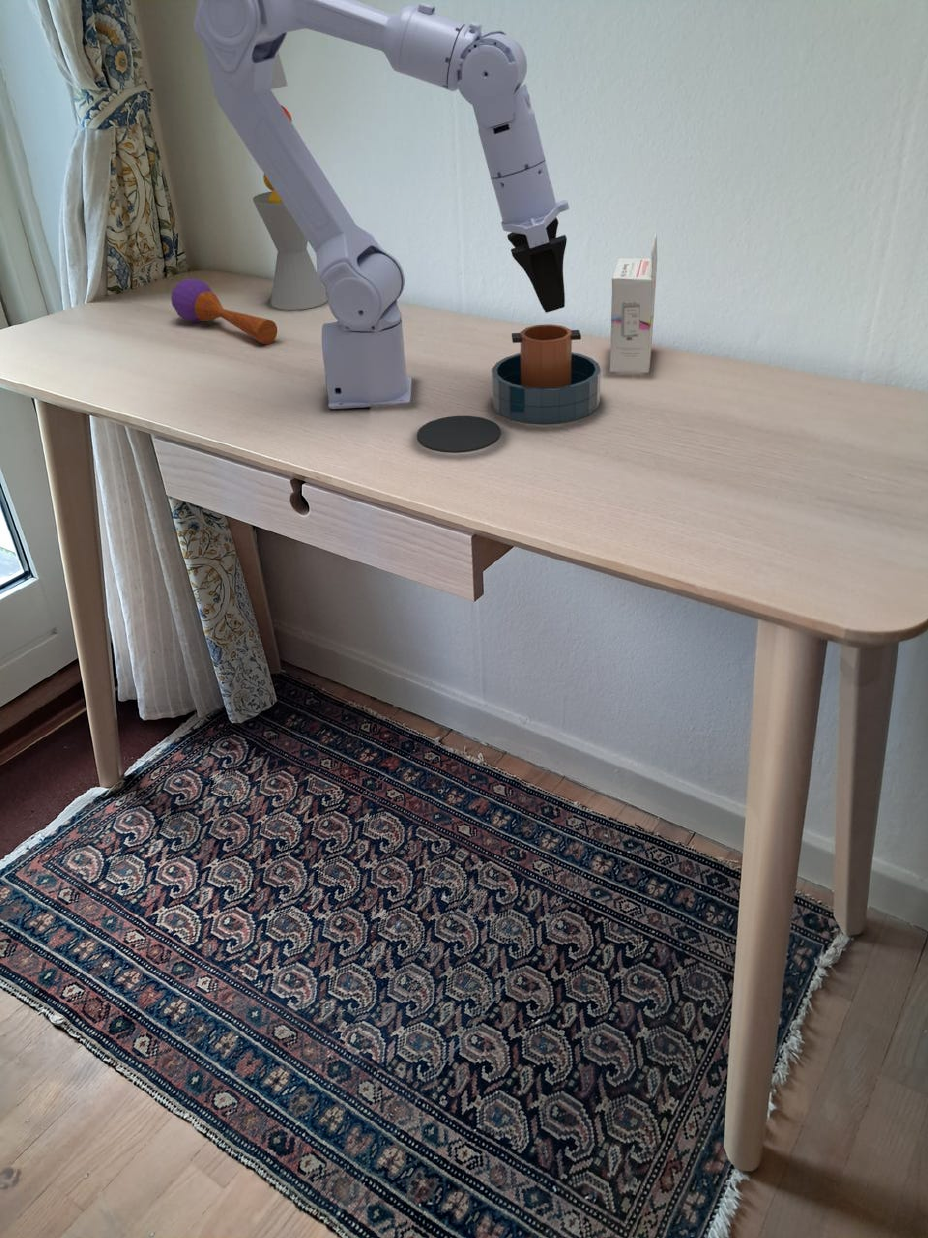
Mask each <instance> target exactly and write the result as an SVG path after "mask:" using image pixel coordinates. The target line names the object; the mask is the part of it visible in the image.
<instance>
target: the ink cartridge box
mask: <svg viewBox="0 0 928 1238" xmlns="http://www.w3.org/2000/svg"><path fill="white" fill-rule="evenodd" d="M650 253H651V254H650V255H651V258H646V257H645V258H643V257H641V258H637V257H635V258H633V257H627V258H626V257H623V258H622V257H621V258H617V259H616V263H615V265H614V266H615V267H614V269H613V271H612V274H611V303H610V304H611V307H610V309H611V310H610V313H611V314H610V346H609V347H610V349H609V372H610V373H643V374H648V373H650V372H649V371H650V366H651V355H652V345H653V332H654V331H653V330H654V316H655V305H656V304H655V301H656V287H657V271H658V234H657V232H655V233H654V237H653V241H652V246H651V251H650Z"/></svg>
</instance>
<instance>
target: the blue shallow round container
mask: <svg viewBox="0 0 928 1238" xmlns="http://www.w3.org/2000/svg"><path fill="white" fill-rule="evenodd" d="M601 374H602V369H601V366H600V363H598V362H597V361H596V360H594V359H593V358H592V357H590V356H588V355H585V354H582V353H577V352H572V356H571V385H568V386H562V387H553V388H536V387H525V386H521V352H519V353H515V354H513V355H509V356H506V357H504V358H502V359H500V360H498V361H497V362H496V363H495V364H494V365H493V367H492V368H491V390H492V391H491V393H492V394H491V395H492V396H491V397H492V407H493V409H494V411H495V412H496V413H497V414H499V415H500V416H502V417H504V418H506V419H509V420H511V421H514V422H519V423H523V424H531V425H558V424H559V425H560V424H565V423H571V422H574V421H578V420H581V419H585V418H586V417H589V416H590V415H592V414H593V413H594V412H595V411H597V409H598V408H599V405H600V402H601V376H602V375H601Z"/></svg>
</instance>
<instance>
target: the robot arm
mask: <svg viewBox="0 0 928 1238" xmlns="http://www.w3.org/2000/svg"><path fill="white" fill-rule="evenodd" d="M435 11H436V6H435V5H433V4H431V3H427V2H420V3H418V7H417V6H414V5H407V6H404V7H403V8H402V9H400V10H399V11H397V12H396V13H395V14H391V13H388V12H386V11H383V10H380V9H378V8H375V7H373V6H370V5H368V4H365V3H363V2H361V1H358V0H197V6H196V12H195V19H194V24H193V30H194V32H195V33H196V35H197V36H198V38H199V40H200V41H201V43H202V45H203V49H204V53H205V58H206V63H207V68H208V72H209V73H208V74H209V77H210V83H211V86H212V92H213V96H214V98H215V100H216V103H217V105H218V107H220V110H222V112H223V113H224V115H225V117H226V118H227V120H228V122H230V123H229V124H231V126H232V128H233V129H234V130H235V132H236V133H237V135H238V136H239V138H240V140H241V141H242V142H243V144H244V145H245V147H246V149H247V151H248V152H249V153H250V155H251V156H252V158H253V159H254V161H255V162H256V164H257V165H258V167H259V168H260V170H261V172H262V173H263V175H264V174H265V176H266V177H267V179H268V181H269V182H270V184H271V185H272V187H273V188H274V190H275V191H276V193H277V194H278V196H279V197H280V199H281V200H282V202H283V203H284V205H285V206H286V208H287V210H288V211H289V213H290V214H291V216H292V217H293V219H294V220H295V222H296V223H297V225H298V226H299V228H300V229H301V231H302V232H303V234H304V235H305V237H306V239H307V240H308V243H309V245H310V246H311V248H312V249H313V251H314V252H315V255H316V272H317V275H318V278H319V280H320V281H321V283H322V286H323V288H324V290H325V293H326V295H327V298H328V300H327V304H328V307H329V310H330V312H331V314H332V316H333V317H334V318H335V319H336V321H332V322H326V323H325V322H324V323H322V326H321V351H322V352H321V353H322V361H323V367H324V369H323V370H324V380H325V385H326V391H327V399H328V409H329V410H340V409H342V410H343V409H360V408H361V409H363V408H371V407H372V405H388V404H405V403H406V404H407V403H410V402H411V393H412V377H411V376H407V367H406V366H407V365H406V352H405V341H404V328H403V327H404V326H403V315H402V311H401V310H400V308H399V306H398V299H399V298H400V297H401V296H402V294H403V292H404V289H405V285H406V278H405V277H406V276H405V273H404V269H403V267H402V265H401V264H400V262H399V260H397V258H396V257H395V256H394V255H392V254H391V253H389V252H387V251H386V250H384V249H383V248H382V247H381V246H380V244H379V242H378V241H377V240H376V238H375V237H374V235H373V234H371V233H369V232H368V231H366V230H365V229H363V228H361V226H358V225H357V224H356V223H355V221H354V219H353V218H352V216H351V215H350V213H349V211H348V210H347V208H346V206H345V205H344V204H343V202H342V200H341V198H340V197H339V196H338V194H337V192H336V191H335V189H334V188H333V187H332V184H331V183H330V182H329V179H328V178H327V177H326V175H325V173H324V171H323V170H322V169H321V167H320V165H319V164H318V162H317V161H316V159H315V158H314V156H313V154H312V153H311V151H310V150H309V148H308V146H307V145H306V143H305V141H304V140H303V138H302V137H301V135H300V133H299V132H298V130H297V128H296V127H295V126H294V124H293V122H292V123H291V121H290V119H289V118H288V116H287V115H286V113H285V111H284V110H283V108H282V107H281V105H282V104H280V101H278V99H277V97H276V96H275V94H274V92H273V91H272V89H271V87H270V86H271V80H272V74H273V68H274V62H275V57H276V55H277V53H278V51H280V49H281V47H282V46H283V43H284V42H285V40H286V38H287V36H288V34H289V33H290V32H295V31H300V30H304V29H305V30H311V31H314V32H317V33H321V34H323V35H327V36H330V37H333V38H337V39H340V40H344V41H347V42H351V43H354V44H357V45H360V46H363V47H367V48H370V49H374V50H377V51H380V52H382V53H383V54H384V56H385V58H386V59H387V61H388V63H389V64H390V67H391V68H392V70H393V71H395V72H397V73H400V74H401V75H406V76H408V77H411V78H414V79H417V80H420V81H422V82H425V83H428V84H431V85H434V86H436V87H439V88H442V89H445V90H449V91H451V92H456V91H457V90H459V93H460V94H461V96H462V97H463V98H464V100H465V101H466V102H467V103H469V104H470V105H471V106H472V109H473V113H474V116H475V121H476V124H477V128H478V130H477V131H478V135H479V139H480V143H481V146H482V150H483V154H484V159H485V161H486V165H487V169H488V172H489V176H490V180H491V184H492V187H493V192H494V194H495V195H494V196H495V198H496V202H497V206H498V209H499V212H500V216H501V220H502V221H501V222H500V224H501V228H502V230H503V232H507V233H508V234H507V235H506V237H507V240H508V241H509V242H510V243H511V244H512V246H513V248H511V249H510V251H511V256H512V257H513V259H514V260H515V261H516V262H517V264H518V265H519V266H520V267H521V268H522V269H523V271H524V273H525V274H526V277H528V279H529V281H530V283H531V285H532V287H533V290H534V292H535V295H536V296H537V299H538V301H539V303H540V305H541V307H542V309H543V310H544V312H545V314H548V313H550V312H553V311H558V310H560V309H563V308H565V307H566V295H565V294H566V292H565V281H564V280H565V279H564V259H565V253H566V248H567V242H568V239H567V238H568V237H567V236H566V234H562V235H559V236H557V232H558V227H559V220H558V217H557V216H559V214H560V213H563V212H565V211H568V210H569V209H570V206H569V202H568V200H565V199H564V200H561V201H557V202H556V198H555V197H556V196H555V194H554V189H553V184H552V182H551V177H550V174H549V173H550V172H549V169H548V164H547V160H546V157H545V151H544V148H543V144H542V141H541V136H540V132H539V127H538V124H537V119H536V114H535V112H534V111H535V110H533V108H532V104H531V98H530V95H529V92H528V89H527V88H528V87H527V84H526V83H525V84H524V81H525V79H526V75H527V71H528V70H527V67H528V66H527V65H528V64H527V62H528V61H527V57H526V54H525V51H524V49H523V47H522V46H521V44H520V43H519V42H518V41H517V40H516V39H515V38H514V37H512V36H510V35H508V34H507V33H506V32H505V31H503V30H492V31H489V32H487V33H484V34H482V29H483V25H482V24H481V23H480V22H477V21H474V20H472V21H470V22H469V25H468V24H465V23H461V22H459V21H456V20H454V19H451V18H448V17H445V16H442V15H439V14H436V13H435Z"/></svg>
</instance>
